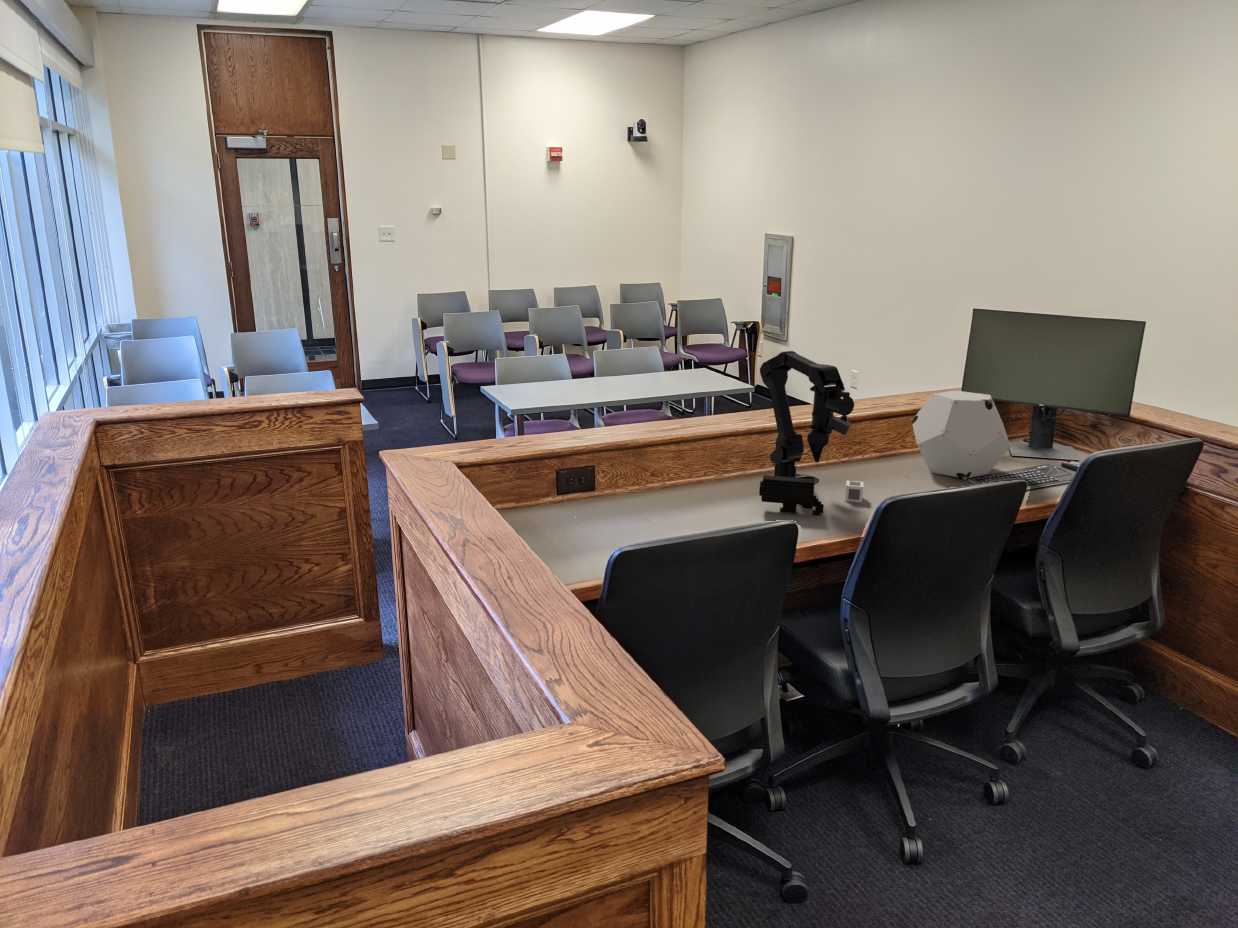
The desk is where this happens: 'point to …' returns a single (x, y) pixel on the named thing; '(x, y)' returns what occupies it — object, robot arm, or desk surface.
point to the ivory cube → (854, 491)
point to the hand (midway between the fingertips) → (818, 457)
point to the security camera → (790, 493)
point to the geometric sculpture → (960, 434)
